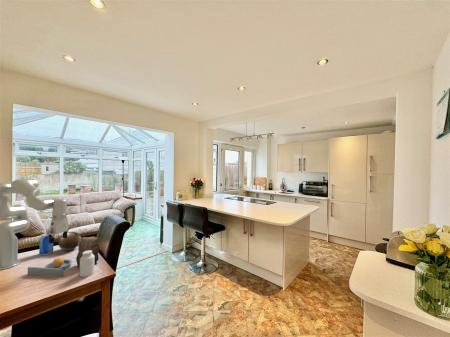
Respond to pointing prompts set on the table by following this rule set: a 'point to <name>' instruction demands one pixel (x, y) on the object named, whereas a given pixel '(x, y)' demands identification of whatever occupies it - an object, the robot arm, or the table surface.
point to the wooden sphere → (70, 241)
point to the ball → (58, 262)
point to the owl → (88, 248)
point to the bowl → (64, 266)
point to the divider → (45, 271)
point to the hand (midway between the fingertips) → (58, 240)
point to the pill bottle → (87, 264)
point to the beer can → (45, 245)
